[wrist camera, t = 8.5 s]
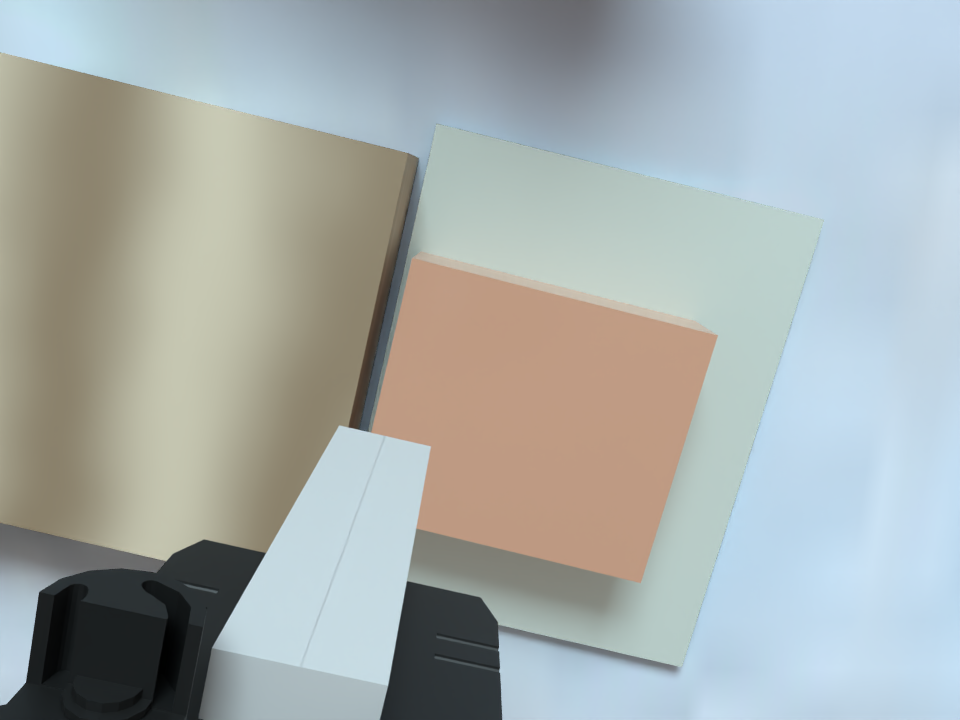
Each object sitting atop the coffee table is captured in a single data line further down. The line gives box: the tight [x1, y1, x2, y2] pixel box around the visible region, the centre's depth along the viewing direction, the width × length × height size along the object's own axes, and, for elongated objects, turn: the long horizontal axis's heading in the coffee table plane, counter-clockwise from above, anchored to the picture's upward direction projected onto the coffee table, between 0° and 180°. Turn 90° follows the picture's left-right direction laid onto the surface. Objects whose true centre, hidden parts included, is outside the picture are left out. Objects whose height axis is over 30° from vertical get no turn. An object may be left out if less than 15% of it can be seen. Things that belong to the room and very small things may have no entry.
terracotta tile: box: [371, 251, 718, 583], centre depth 23 cm, size 8×7×2 cm
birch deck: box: [0, 53, 419, 561], centre depth 23 cm, size 16×12×3 cm
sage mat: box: [368, 124, 824, 667], centre depth 25 cm, size 11×14×1 cm
